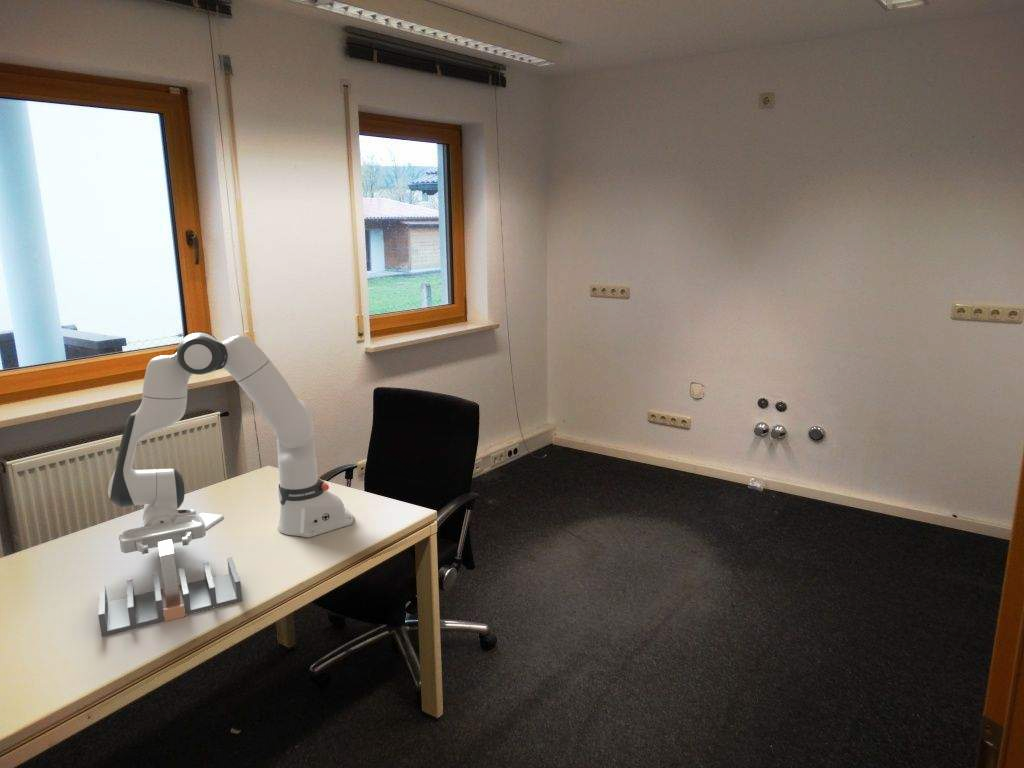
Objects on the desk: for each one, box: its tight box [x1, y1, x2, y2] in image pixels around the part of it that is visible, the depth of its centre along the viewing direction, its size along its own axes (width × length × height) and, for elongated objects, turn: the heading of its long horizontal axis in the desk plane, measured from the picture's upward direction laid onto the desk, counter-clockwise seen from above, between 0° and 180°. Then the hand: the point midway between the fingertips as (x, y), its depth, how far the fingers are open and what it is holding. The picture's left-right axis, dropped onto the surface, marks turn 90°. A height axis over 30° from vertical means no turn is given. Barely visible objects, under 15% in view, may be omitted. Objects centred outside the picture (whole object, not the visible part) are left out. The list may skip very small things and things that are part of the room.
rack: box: [97, 556, 243, 637], centre depth 167 cm, size 30×15×6 cm, turn 120°
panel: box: [158, 540, 181, 608], centre depth 166 cm, size 3×8×14 cm, turn 30°
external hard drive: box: [198, 512, 225, 531], centre depth 211 cm, size 2×8×12 cm
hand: (165, 546), depth 175 cm, fingers open, 8 cm apart
